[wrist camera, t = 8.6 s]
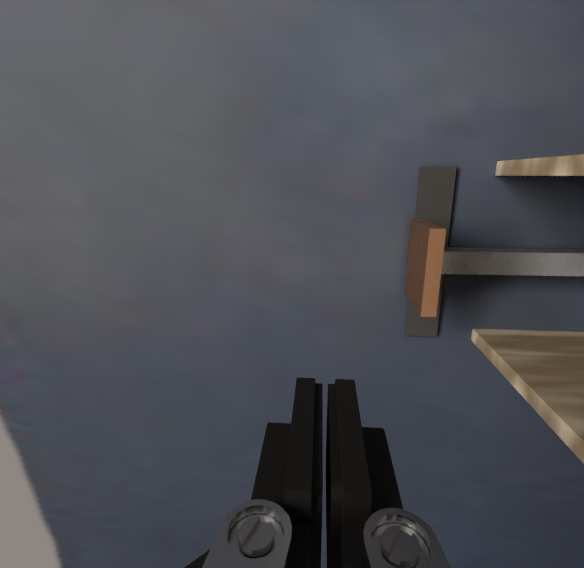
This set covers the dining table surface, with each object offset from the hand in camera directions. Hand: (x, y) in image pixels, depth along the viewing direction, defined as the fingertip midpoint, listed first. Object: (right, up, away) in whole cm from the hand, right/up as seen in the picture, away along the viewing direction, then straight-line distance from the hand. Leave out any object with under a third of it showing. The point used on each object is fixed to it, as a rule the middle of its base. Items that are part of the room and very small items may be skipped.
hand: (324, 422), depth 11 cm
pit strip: (+12, +7, +24) cm, 28 cm away
